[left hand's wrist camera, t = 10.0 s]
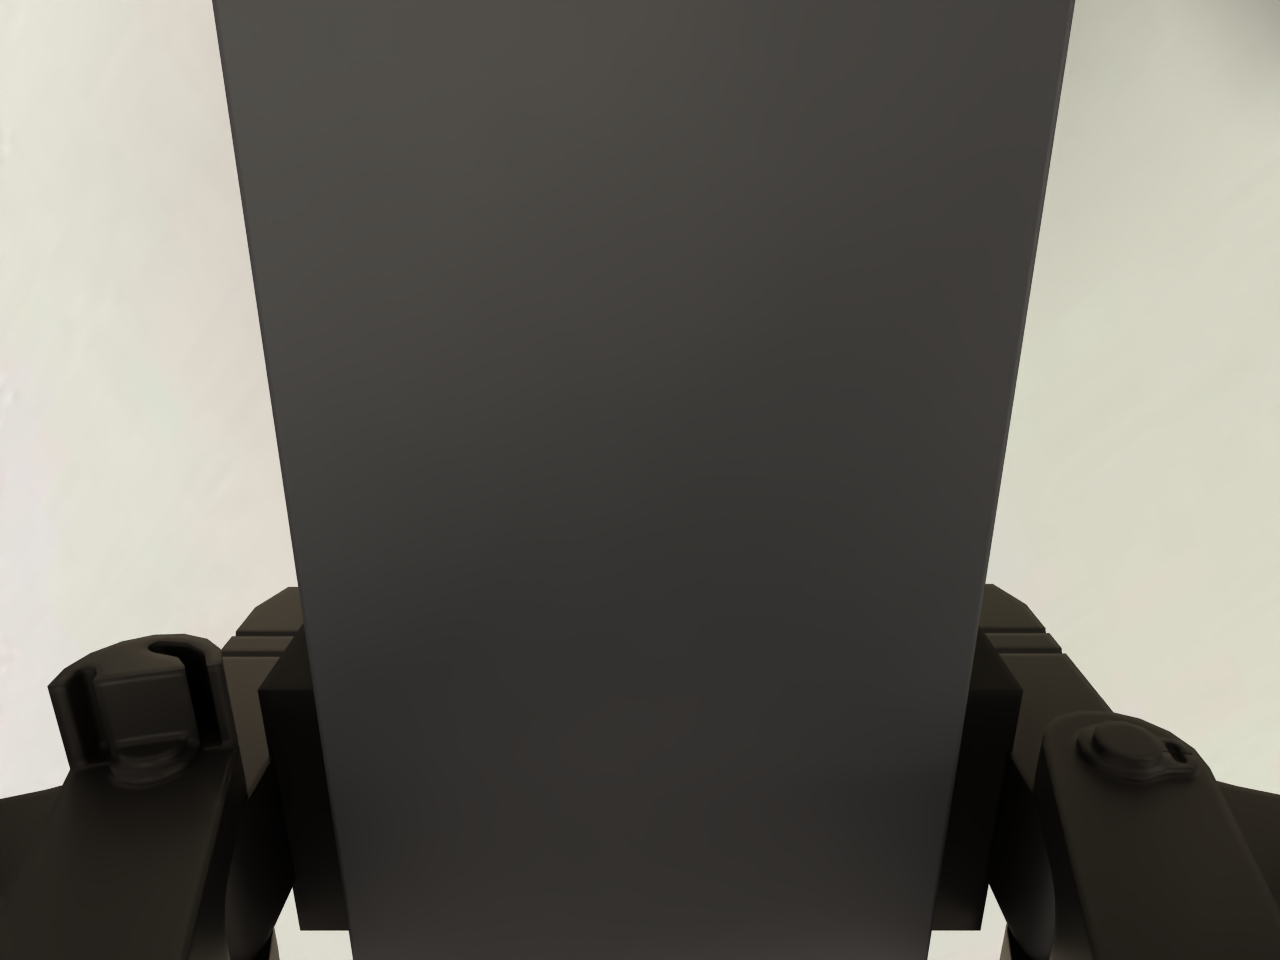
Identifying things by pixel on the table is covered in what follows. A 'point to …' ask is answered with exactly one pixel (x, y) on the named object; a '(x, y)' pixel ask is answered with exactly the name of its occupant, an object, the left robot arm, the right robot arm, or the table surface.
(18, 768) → the table surface
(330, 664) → the bar
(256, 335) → the table surface
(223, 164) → the table surface
